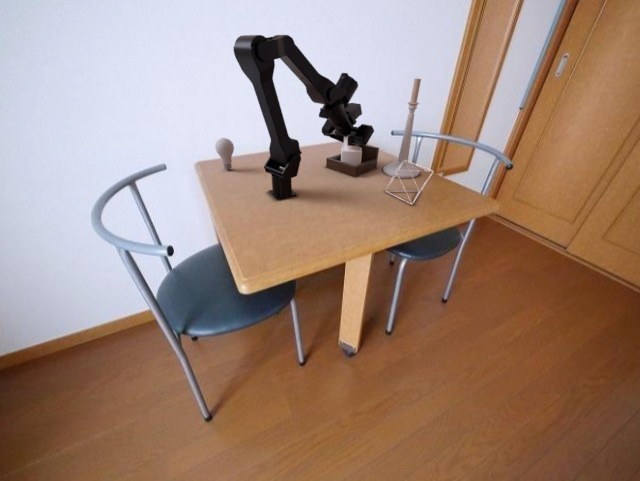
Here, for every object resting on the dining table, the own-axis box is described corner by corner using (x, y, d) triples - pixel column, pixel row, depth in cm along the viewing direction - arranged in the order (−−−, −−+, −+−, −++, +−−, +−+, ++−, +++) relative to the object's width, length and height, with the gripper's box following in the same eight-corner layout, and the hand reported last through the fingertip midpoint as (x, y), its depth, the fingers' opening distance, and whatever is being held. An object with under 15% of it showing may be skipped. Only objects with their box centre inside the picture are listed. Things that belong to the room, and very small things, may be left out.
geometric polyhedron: (380, 198, 85) (384, 168, 80) (390, 185, 93) (394, 157, 88) (422, 207, 80) (430, 177, 75) (429, 193, 89) (436, 164, 83)
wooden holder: (354, 177, 99) (356, 155, 95) (326, 167, 106) (326, 147, 102) (376, 167, 107) (379, 147, 103) (348, 159, 114) (349, 140, 110)
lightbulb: (238, 171, 101) (233, 139, 94) (220, 173, 99) (214, 141, 93) (235, 166, 105) (231, 135, 99) (218, 168, 103) (212, 136, 97)
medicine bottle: (359, 164, 109) (362, 131, 102) (360, 171, 103) (363, 136, 96) (341, 163, 109) (342, 131, 103) (340, 170, 103) (342, 136, 97)
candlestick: (426, 175, 102) (449, 78, 85) (397, 180, 97) (416, 79, 80) (403, 164, 111) (419, 75, 95) (376, 168, 107) (388, 75, 90)
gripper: (374, 97, 85) (388, 130, 98) (328, 91, 96) (346, 122, 109) (356, 129, 85) (372, 158, 98) (311, 119, 95) (331, 147, 108)
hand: (355, 145), depth 103 cm, fingers closed on medicine bottle, 6 cm apart
